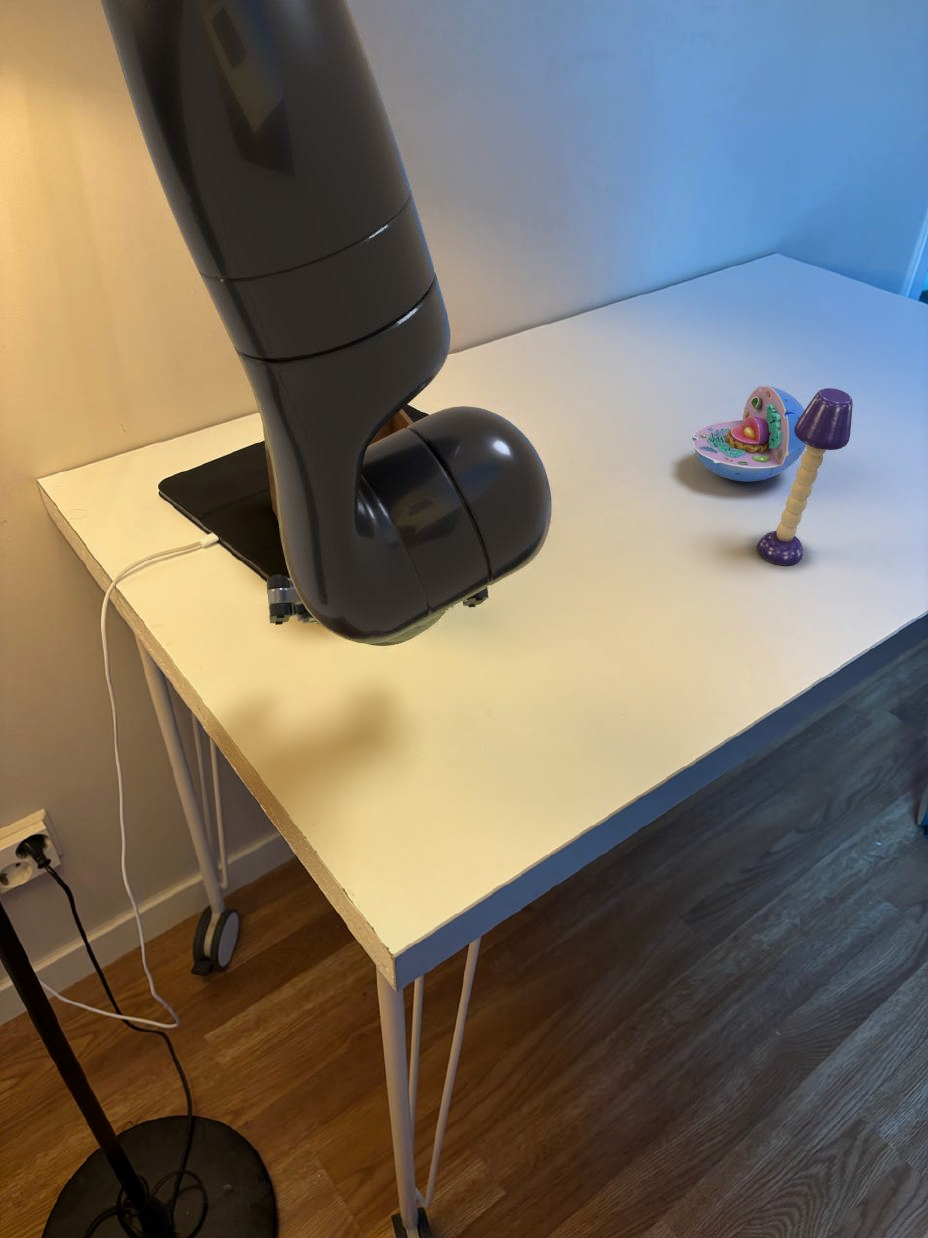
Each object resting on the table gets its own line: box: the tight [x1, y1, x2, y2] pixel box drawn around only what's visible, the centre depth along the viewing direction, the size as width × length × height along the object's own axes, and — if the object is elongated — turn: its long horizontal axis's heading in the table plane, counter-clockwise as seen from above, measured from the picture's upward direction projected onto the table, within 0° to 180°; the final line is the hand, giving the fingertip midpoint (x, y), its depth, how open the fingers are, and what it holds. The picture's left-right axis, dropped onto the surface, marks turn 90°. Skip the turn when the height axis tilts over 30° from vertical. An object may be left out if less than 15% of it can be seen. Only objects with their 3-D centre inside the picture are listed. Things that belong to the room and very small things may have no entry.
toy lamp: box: [756, 387, 853, 566], centre depth 85 cm, size 5×5×17 cm
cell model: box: [691, 385, 806, 483], centre depth 98 cm, size 10×12×10 cm
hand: (371, 602), depth 69 cm, fingers open, 8 cm apart
